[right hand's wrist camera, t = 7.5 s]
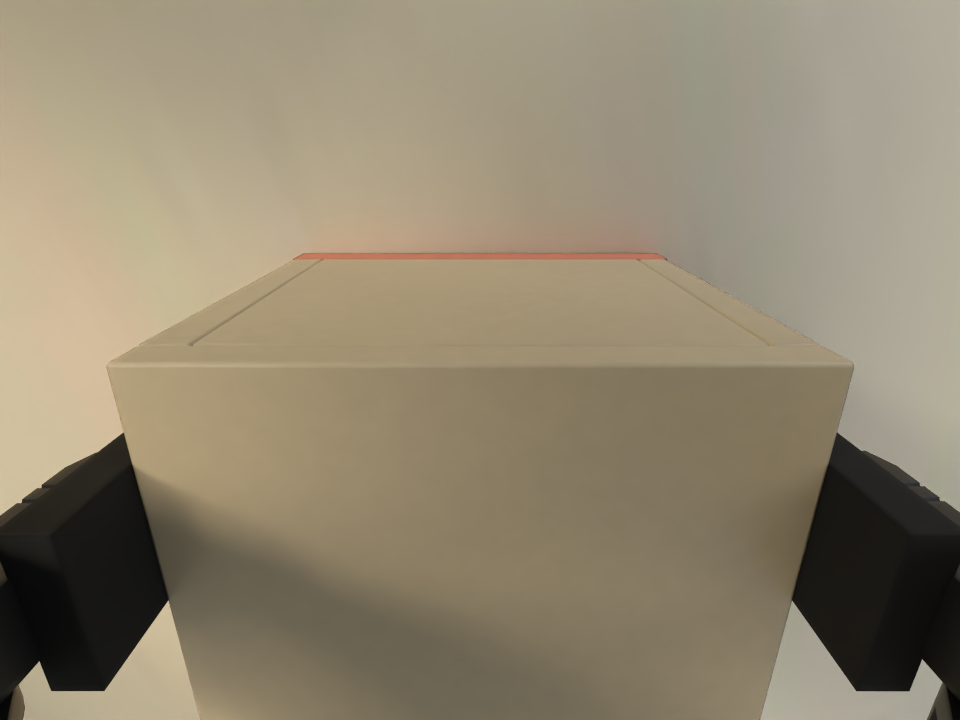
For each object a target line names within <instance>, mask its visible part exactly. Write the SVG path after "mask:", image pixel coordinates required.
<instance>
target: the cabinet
mask: <svg viewBox="0 0 960 720" xmlns="http://www.w3.org/2000/svg"><path fill="white" fill-rule="evenodd" d="M853 370H854V364H853V363H852V362H851V361H849V360H847V359H845V358H843V357H842V356H840V355H838V354H836V353H834V352H833V351H831V350H829V349H827V348H825V347H823V346H820V345H819V344H818V343H816V342H814V341H812V340H811V339H809V338H807V337H805V336H803V335H801V334H800V333H798V332H796V331H794V330H792V329H791V328H789V327H787V326H785V325H783V324H781V323H780V322H778V321H776V320H774V319H772V318H770V317H769V316H767V315H765V314H763V313H761V312H759V311H758V310H756V309H754V308H752V307H750V306H749V305H747V304H745V303H743V302H741V301H739V300H738V299H736V298H734V297H732V296H730V295H728V294H727V293H725V292H723V291H721V290H719V289H717V288H716V287H714V286H712V285H710V284H708V283H707V282H705V281H703V280H701V279H699V278H697V277H696V276H694V275H692V274H690V273H688V272H686V271H685V270H683V269H681V268H679V267H677V266H676V265H674V264H672V263H670V262H668V261H667V259H666V258H664V257H662V256H660V255H659V254H302V255H300V256H298V257H296V258H294V259H293V261H291V262H289V263H287V264H285V265H284V266H282V267H280V268H278V269H276V270H274V271H273V272H271V273H269V274H267V275H265V276H263V277H262V278H260V279H258V280H256V281H254V282H252V283H251V284H249V285H247V286H245V287H243V288H242V289H240V290H238V291H236V292H234V293H232V294H231V295H229V296H227V297H225V298H223V299H221V300H220V301H218V302H216V303H214V304H212V305H210V306H209V307H207V308H205V309H203V310H201V311H199V312H198V313H196V314H194V315H192V316H190V317H188V318H187V319H185V320H183V321H181V322H179V323H177V324H176V325H174V326H172V327H170V328H168V329H166V330H165V331H163V332H161V333H159V334H157V335H156V336H154V337H152V338H150V339H148V340H146V341H145V342H143V343H141V344H140V345H139V346H138V347H135V348H134V349H132V350H130V351H128V352H126V353H124V354H123V355H121V356H119V357H117V358H115V359H114V360H112V361H110V362H108V364H107V371H108V375H109V379H110V382H111V386H112V390H113V394H114V397H115V401H116V405H117V409H118V412H119V416H120V420H121V424H122V427H123V431H124V435H125V439H126V442H127V446H128V450H129V454H130V457H131V461H132V465H133V469H134V472H135V476H136V480H137V484H138V487H139V491H140V495H141V499H142V502H143V506H144V510H145V514H146V517H147V521H148V525H149V529H150V532H151V536H152V540H153V544H154V547H155V551H156V555H157V559H158V562H159V566H160V570H161V574H162V577H163V581H164V585H165V589H166V592H167V596H168V600H169V604H170V607H171V611H172V615H173V619H174V622H175V626H176V630H177V634H178V637H179V641H180V645H181V649H182V652H183V656H184V660H185V664H186V667H187V671H188V675H189V679H190V682H191V686H192V690H193V694H194V697H195V701H196V705H197V709H198V712H199V716H200V720H760V718H761V714H762V710H763V707H764V703H765V699H766V695H767V692H768V688H769V684H770V680H771V677H772V673H773V669H774V665H775V662H776V658H777V654H778V650H779V647H780V643H781V639H782V635H783V632H784V628H785V624H786V621H787V617H788V613H789V609H790V606H791V602H792V598H793V594H794V591H795V587H796V583H797V579H798V576H799V572H800V568H801V564H802V561H803V557H804V553H805V549H806V546H807V542H808V538H809V535H810V531H811V527H812V523H813V520H814V516H815V512H816V508H817V505H818V501H819V497H820V493H821V490H822V486H823V482H824V478H825V475H826V471H827V467H828V463H829V460H830V456H831V452H832V449H833V445H834V441H835V437H836V434H837V430H838V426H839V422H840V419H841V415H842V411H843V407H844V404H845V400H846V396H847V392H848V389H849V385H850V381H851V377H852V374H853Z"/></svg>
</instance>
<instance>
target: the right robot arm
mask: <svg viewBox="0 0 960 720" xmlns="http://www.w3.org/2000/svg"><path fill="white" fill-rule="evenodd" d="M167 601H168V596H167V592H166V589H165V585H164V581H163V577H162V574H161V570H160V566H159V562H158V559H157V555H156V551H155V547H154V544H153V540H152V536H151V532H150V529H149V525H148V521H147V517H146V514H145V510H144V506H143V502H142V499H141V495H140V491H139V487H138V484H137V480H136V476H135V472H134V469H133V465H132V461H131V457H130V454H129V450H128V446H127V442H126V439H125V435H124V433H122V434H121V435H120V436H118V437H117V438H116V439H115V440H113V441H112V442H111V443H109V444H108V445H107V446H105V447H104V448H103V449H101V450H100V451H99V452H98V453H94V454H92V455H90V456H88V457H86V458H84V459H82V460H80V461H78V462H76V463H74V464H71V465H69V466H67V467H65V468H64V469H63V470H61V471H60V472H59V473H57V474H56V475H54V476H53V477H52V478H50V479H49V480H48V481H46V482H45V483H44V484H42V488H37V489H36V490H34V491H33V492H32V493H30V494H29V495H28V496H26V497H25V498H24V499H22V503H17V504H15V505H14V506H13V507H11V508H10V509H9V510H7V511H6V512H5V513H3V514H2V515H1V516H0V720H23V716H24V710H25V705H24V699H23V695H22V692H21V690H20V688H19V683H20V682H21V681H22V680H23V679H24V678H25V677H26V675H27V674H28V673H29V672H30V671H31V670H32V669H33V667H34V666H35V665H36V664H37V663H38V662H39V661H40V663H41V666H42V668H43V671H44V674H45V676H46V679H47V681H48V684H49V686H50V689H51V691H105V689H106V688H107V686H108V685H109V683H110V682H111V681H112V679H113V678H114V676H115V675H116V674H117V672H118V671H119V669H120V668H121V666H122V665H123V664H124V662H125V661H126V659H127V658H128V657H129V655H130V654H131V652H132V651H133V649H134V648H135V647H136V645H137V644H138V642H139V641H140V640H141V638H142V637H143V635H144V634H145V633H146V631H147V630H148V628H149V627H150V625H151V624H152V623H153V621H154V620H155V618H156V617H157V616H158V614H159V613H160V611H161V610H162V608H163V607H164V606H165V604H166V603H167ZM792 601H793V602H794V603H795V605H796V606H797V608H798V609H799V610H800V612H801V613H802V615H803V616H804V618H805V619H806V620H807V622H808V623H809V625H810V626H811V627H812V629H813V630H814V632H815V633H816V635H817V636H818V637H819V639H820V640H821V642H822V643H823V644H824V646H825V647H826V649H827V650H828V651H829V653H830V654H831V656H832V657H833V659H834V660H835V661H836V663H837V664H838V666H839V667H840V668H841V670H842V671H843V673H844V674H845V676H846V677H847V678H848V680H849V681H850V683H851V684H852V685H853V687H854V688H855V690H856V691H910V688H911V686H912V683H913V681H914V678H915V676H916V673H917V671H918V668H919V666H920V663H921V661H922V659H923V660H924V661H925V662H926V664H927V665H928V666H929V667H930V668H931V669H932V670H933V672H934V673H935V674H936V675H937V676H938V677H939V678H940V679H941V681H942V682H943V683H942V685H941V688H940V690H939V692H938V695H937V697H936V699H935V702H934V704H933V707H932V709H931V711H930V714H929V716H928V718H927V720H960V512H958V511H957V510H956V509H954V508H953V507H952V506H950V505H949V504H948V503H946V502H945V501H940V500H939V497H938V496H937V495H935V494H934V493H933V492H931V491H930V490H929V489H927V488H926V487H924V486H920V483H919V482H918V481H916V480H915V479H914V478H912V477H911V476H910V475H908V474H907V473H905V472H904V471H903V470H901V469H900V468H899V467H897V466H896V465H894V464H892V463H890V462H888V461H885V460H883V459H881V458H879V457H877V456H875V455H873V454H871V453H869V452H867V451H860V450H859V449H858V448H857V447H855V446H854V445H853V444H851V443H850V442H849V441H847V440H846V439H845V438H844V437H842V436H841V435H840V434H838V433H837V434H836V437H835V441H834V445H833V449H832V452H831V456H830V460H829V463H828V467H827V471H826V475H825V478H824V482H823V486H822V490H821V493H820V497H819V501H818V505H817V508H816V512H815V516H814V520H813V523H812V527H811V531H810V535H809V538H808V542H807V546H806V549H805V553H804V557H803V561H802V564H801V568H800V572H799V576H798V579H797V583H796V587H795V591H794V594H793V598H792Z"/></svg>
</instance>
